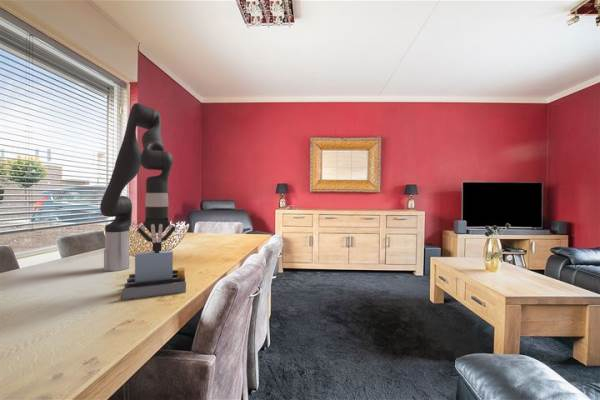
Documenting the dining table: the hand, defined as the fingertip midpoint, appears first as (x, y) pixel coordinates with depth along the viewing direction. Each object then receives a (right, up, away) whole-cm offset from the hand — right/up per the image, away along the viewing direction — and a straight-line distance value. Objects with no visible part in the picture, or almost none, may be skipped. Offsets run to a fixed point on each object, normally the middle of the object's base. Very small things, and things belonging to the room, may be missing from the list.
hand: (157, 252), depth 100 cm
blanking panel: (-1, -12, 0) cm, 12 cm away
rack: (0, -13, 0) cm, 13 cm away
